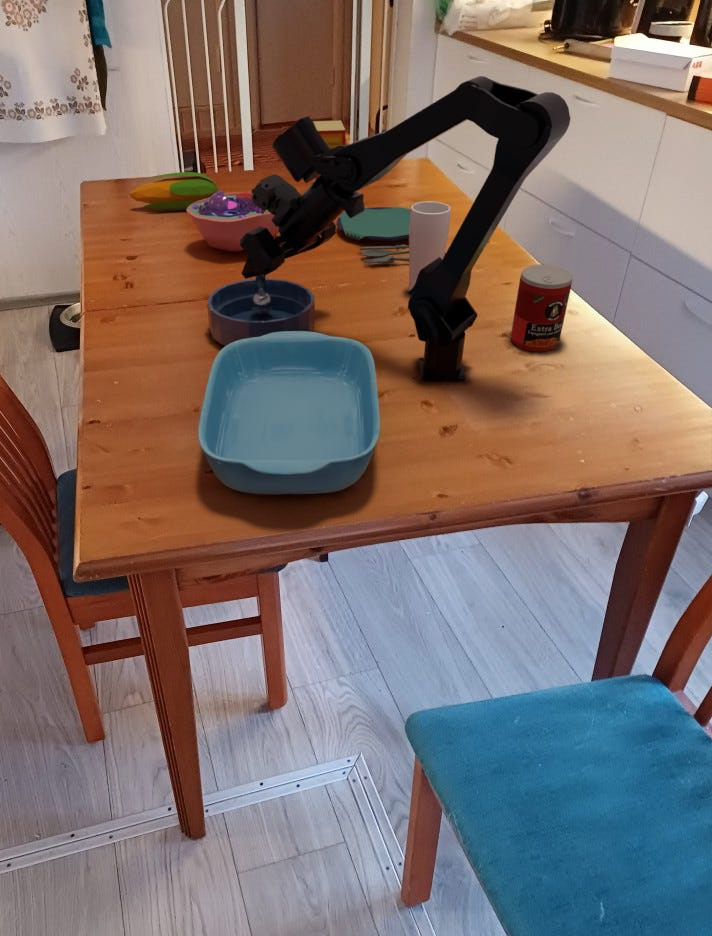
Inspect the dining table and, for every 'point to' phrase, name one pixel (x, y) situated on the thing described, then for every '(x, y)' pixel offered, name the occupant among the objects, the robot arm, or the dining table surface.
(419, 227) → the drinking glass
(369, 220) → the cutlery set
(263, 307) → the silver metal pestle
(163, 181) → the corn
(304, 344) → the casserole dish
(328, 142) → the baking soda box
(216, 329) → the dark blue round bowl
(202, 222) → the cell model
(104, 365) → the dining table surface
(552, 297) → the canned food
